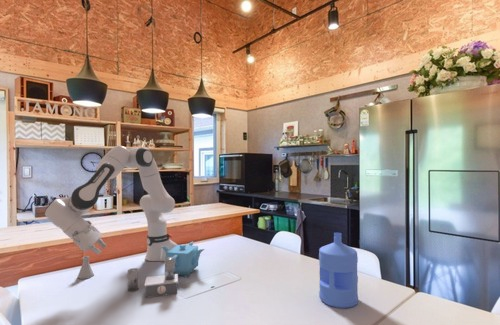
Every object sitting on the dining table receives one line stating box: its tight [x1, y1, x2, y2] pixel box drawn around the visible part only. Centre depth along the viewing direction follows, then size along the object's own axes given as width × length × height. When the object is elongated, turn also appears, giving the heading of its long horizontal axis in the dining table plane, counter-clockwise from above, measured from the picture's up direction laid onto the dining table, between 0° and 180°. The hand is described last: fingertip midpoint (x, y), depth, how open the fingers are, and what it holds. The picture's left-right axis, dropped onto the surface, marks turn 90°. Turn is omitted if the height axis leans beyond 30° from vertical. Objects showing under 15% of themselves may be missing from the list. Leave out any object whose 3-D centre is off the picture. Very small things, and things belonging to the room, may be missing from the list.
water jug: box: [318, 232, 359, 309], centre depth 120 cm, size 16×16×28 cm
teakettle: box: [161, 241, 206, 278], centre depth 151 cm, size 19×19×15 cm
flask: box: [77, 255, 95, 280], centre depth 146 cm, size 7×7×10 cm
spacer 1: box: [127, 267, 139, 292], centre depth 131 cm, size 4×4×9 cm
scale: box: [144, 274, 179, 298], centre depth 128 cm, size 14×9×6 cm, turn 105°
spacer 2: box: [164, 257, 175, 280], centre depth 129 cm, size 4×4×9 cm
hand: (102, 250), depth 127 cm, fingers open, 8 cm apart
